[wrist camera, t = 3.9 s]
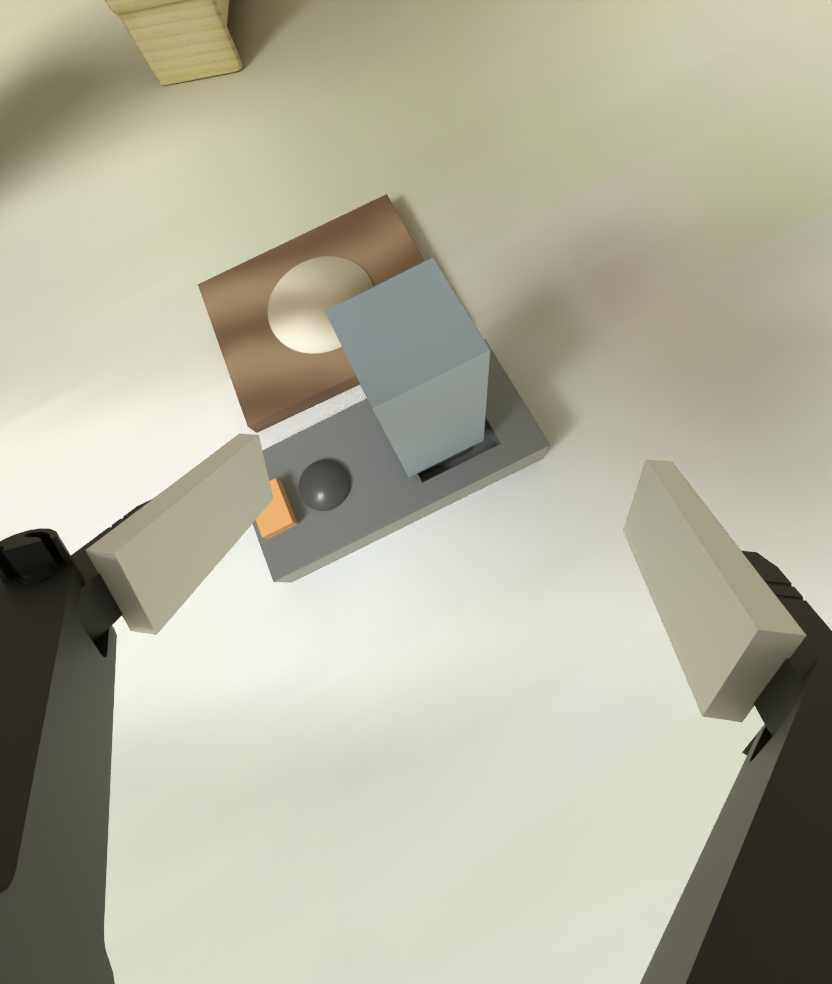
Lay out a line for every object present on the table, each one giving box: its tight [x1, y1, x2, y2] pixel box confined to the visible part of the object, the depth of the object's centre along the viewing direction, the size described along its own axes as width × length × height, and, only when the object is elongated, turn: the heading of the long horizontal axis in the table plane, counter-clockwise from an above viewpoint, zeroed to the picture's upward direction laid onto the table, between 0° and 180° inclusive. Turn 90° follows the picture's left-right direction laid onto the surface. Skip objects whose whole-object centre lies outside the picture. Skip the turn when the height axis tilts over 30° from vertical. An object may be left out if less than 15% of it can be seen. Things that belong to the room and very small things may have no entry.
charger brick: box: [325, 258, 490, 477], centre depth 21 cm, size 5×5×12 cm
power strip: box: [253, 340, 550, 582], centre depth 26 cm, size 18×8×4 cm, turn 115°
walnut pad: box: [198, 194, 424, 433], centre depth 30 cm, size 13×16×1 cm
